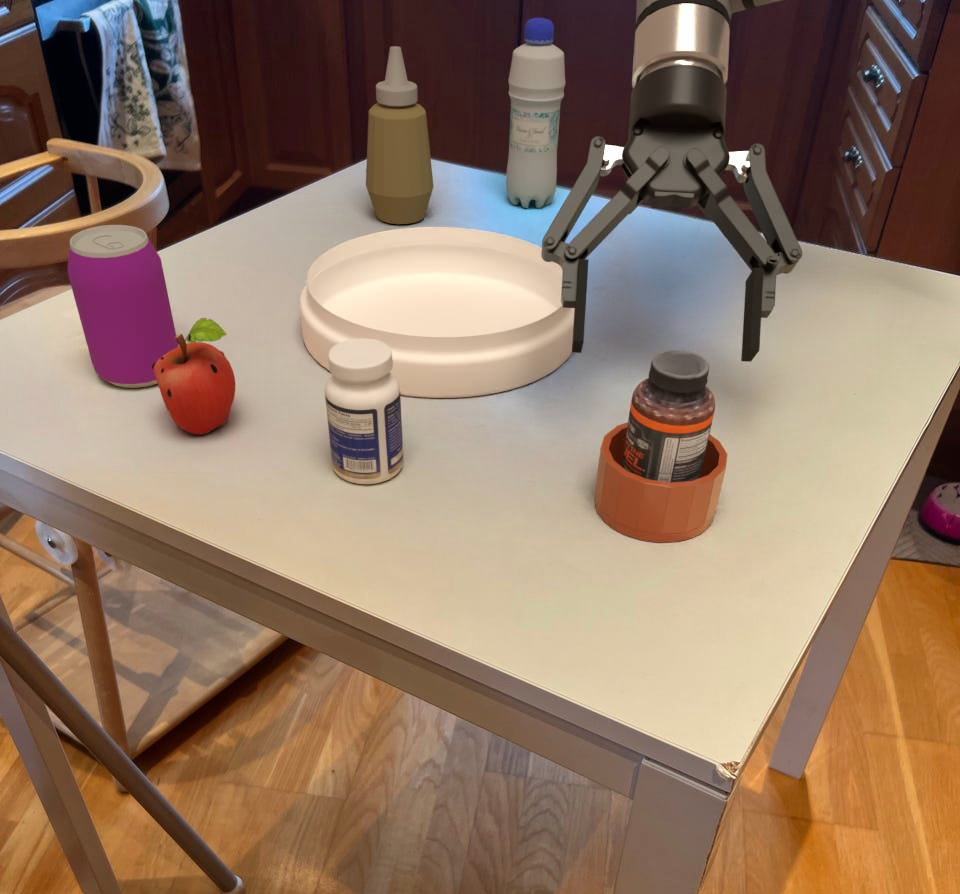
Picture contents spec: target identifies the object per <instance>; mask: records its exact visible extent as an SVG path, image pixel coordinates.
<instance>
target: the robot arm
mask: <svg viewBox="0 0 960 894" xmlns="http://www.w3.org/2000/svg"><path fill="white" fill-rule="evenodd" d="M781 1H783V0H636V11H635V12H636V13H635V28H634V43H633V44H634V45H633V57H632V58H633V60H632V74H631V75H632V76H631V86H632V90H631V93H630V102H629V103H630V105H629V121H628V122H629V123H628V139H627V142H626V143H625V145H624V146H618V145H612V144H607V142H606V140H605V138H604V137H603V136H600V135H599V136H598V135H596V136H594V137H593V138H592V139H591V140H590V144H589V148H588V154H587V161H586V164H585V165H584V167H583V169H582V171H581V172H580V174H579V175H578V178H577V179H576V181H575V183H574V184H573V186H572V188H571V189H570V191H569V193H568V194H567V196H566V198H565V200H564V201H563V203H562V205H561V207H560V208H559V210H558V211H557V213H556V215H555V217H554V219H553V221H552V222H551V224H550V226H549V227H548V229H547V231H546V232H545V234H544V236H543V237H542V241H541V248H542V252H541V256H542V259H543V260H544V261H546V262H551V261H552V262H555V263H557V264H559V265H560V266H561V268H562V272H563V273H562V290H561V303H562V306H563V308H574V325H573V341H572V353H574V354H582V351H583V347H584V341H585V326H586V308H587V307H586V305H587V291H588V274H589V259H588V257H589V256H590V255H591V253H593V252H594V251H595V249H597V248H598V246H600V244H602V242H603V241H604V240H605V239H606V238H607V237H608V236H609V235H610V234H611V233H612V232H613V231H614V230H615V229H616V228H617V227H618V226H619V225H620V223H621V222H623V220H624V219H625V218H626V217H628V215H631V214H633V212H634V211H635V210H637V208H638V207H639V206H640V205H641V204H642V203H643V202H644V203H645V204H647V205H649V206H650V209H658V210H661V209H666V208H669V207H670V208H674V209H676V210H681V211H682V210H683V211H690V210H691V208H694V207H695V206H697V207H698V209H699V210H700V211H701V212H702V214H703V215H704V216H705V217H706V218H707V219H710V220H711V221H712V223H714V224H715V226H716V227H717V229H718V230H719V231H720V232H721V234H722V235H723V236H724V238H725V239H726V240H727V241H728V242H729V244H730V246H731V247H732V248H733V250H735V252H736V253H737V254H738V255H739V257H740V258H741V259H742V260H743V262H744V263H745V264H746V266H747V267H748V268H749V270H750V271H751V272H750V273H749V274H748V277H747V278H746V280H745V287H744V288H745V289H744V290H745V291H744V302H743V303H744V305H743V324H742V325H743V326H742V342H741V358H740V359H741V362H747V363H748V362H749V363H750V362H752V361H753V359H754V358H755V357H756V356H757V355H758V353H759V352H760V347H761V345H760V344H761V330H762V329H761V327H762V319H768V318H769V316H770V315H771V313H772V311H773V310H774V308H775V305H776V304H775V303H776V288H777V276H778V275H780V274H784V275H785V274H790V273H792V271H793V270H794V268H795V267H796V266H797V264H798V263H799V262H800V260H801V258H802V257H803V250H802V248H801V246H800V243H799V242H798V239H797V237H796V235H795V232H794V230H793V228H792V225H791V223H790V221H789V219H788V216H787V214H786V212H785V210H784V208H783V206H782V203H781V201H780V198H779V197H778V194H777V192H776V189H775V188H774V185H773V183H772V181H771V178H770V176H769V173H768V171H767V163H766V149H765V146H764V145H763V144H762V143H757V142H756V143H753V144H752V145H750V148H749V149H748V150H741V151H729V149H728V147H727V145H726V142H725V132H726V131H725V129H726V114H727V113H726V110H727V93H728V90H727V86H726V84H727V83H728V76H729V59H730V57H729V56H730V55H729V54H730V35H731V24H732V23H731V19H732V14H735V13H738V12H739V13H740V12H742V11H746V10H752V9H757V8H759V7H760V6H764V5H768V4H773V3H777V2H781ZM616 166H620V167H621V170H622V171H623V173H624V175H625V177H626V178H627V179H626V181H625V182H624V184H623V185H622V187H621V188H620V189H619V190H618V192H617V193H616V194H615V195H614V196H612V198H611V199H610V200H609V201H608V202H607V203H606V204H605V205H604V206H603V207H602V208H601V209H600V211H599V212H597V214H596V215H595V216H594V217H593V218H592V219H591V220H590V221H589V222H588V223H587V224H586V225H585V226H584V227H583V228H582V229H581V230H580V231H579V232H578V233H577V234H576V236H575V237H574V238H572V240H570V241H569V243H567V242H566V241H567V239H568V237H569V236H570V234H571V232H572V230H573V229H574V228H575V225H576V223H577V222H578V220H579V219H580V217H581V215H582V213H583V212H584V210H585V208H586V206H587V204H588V203H589V201H590V199H591V198H592V196H593V195H594V193H595V190H596V189H597V186H598V185H599V182H600V178H601V177H606V176H608V175H610V174H611V172H612V170H613V168H614V167H616ZM727 171H730V172H732V173H733V175H734V177H735V179H736V181H737V183H739V184H743V190H744V194H745V196H746V199H747V201H748V203H749V205H750V208H751V210H752V212H753V214H754V217H755V219H756V221H757V224H758V226H759V228H760V230H761V232H762V235H763V236H762V235H761V233H760V232H759V231H758V230H757V228H756V226H755V225H753V223H752V221H751V220H750V219H749V218H748V217H747V215H746V214H745V213H744V212H743V210H742V209H741V208H740V206H739V205H738V204H737V203H736V201H735V200H734V198H733V197H732V196H731V195H730V191H729V188H728V186H727V185H726V184H725V182H724V180H722V177H723V176H724V175H725V173H726V172H727ZM572 353H571V354H572Z"/></svg>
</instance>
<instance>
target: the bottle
mask: <svg viewBox="0 0 960 894" xmlns="http://www.w3.org/2000/svg"><path fill="white" fill-rule="evenodd" d="M523 33H524V34H523V39H524V40H523V41H524V42H525V43H522V44H521V45H520V46H517V47H516V48H515V49H514V50H513V51H512V56H511V63H510V69H509V75H508V76H509V77H508V81H507V82H508V86H509V87H508V89H509V90H508V95H509V98H510V114H509V115H510V117H509V140H508V158H507V164H506V165H507V166H506V173H505V174H506V176H505V187H506V193H507V197H508V199H509V202H510V203H511V204H512V205H514V206H517V205H519V203H520V204H521V206H522V208H524V209H528V208H529V206H530V202H531V201H535V207H536V208H537V209H540V208H542V207H543V206H544V205H546V206H547V205H549V204H551V202H552V201H553V200H554V197H555V194H556V188H557V175H558V165H557V164H558V157H557V156H558V145H559V129H560V118H561V117H560V116H561V115H560V114H561V104H562V103H561V102H562V100H563V99H564V97H565V91H564V90H565V87H566V84H567V83H566V71H565V70H566V67H565V65H566V64H565V53H564V51H563V50H562V49H561V48H559V47H558V46H556V45H555V44H553V42H554V39H555V38H554V37H555V36H554V35H555V26H554V23H553V21H552V20H550V19H548V18H545V17H533V18H530V19H528V20H527V21H526V22H525V24H524V32H523Z"/></svg>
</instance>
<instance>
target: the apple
mask: <svg viewBox="0 0 960 894" xmlns="http://www.w3.org/2000/svg"><path fill="white" fill-rule="evenodd" d="M225 336H227V332H226V331H225V330H224V329H223V328H222V327H221V326H220V324H219V323H217V322H216V321H215V320H213V319H212V318H207V317H201V318H199V319H198V320H196V321H195V323H194V324H193V325H192V327H191V329H190V331H189V333H188V334H187V336H186V337H184V335H183V334H182V333H180V334H177V335H176V337H175V339H176V341H177V343H178V347H177V348H175V349H173V350H171V351H170V352H168V353H166V354H165V355H163V356H162V357H161V358H160V359H159V360H158V361H157V362H156V363H154V364H153V365H152V369H153V370H154V374H155V378H156V381H157V384H156V385H157V386H158V389H159V391H160V395H161V398H162V400H163V404H164V405H165V408H166V409H167V412H168V414H169V415H170V417H171V419H172V420H173V421H174V423H175V424H176V425H177V426H178V427H179V428H181V429H182V430H184V431H186V432H187V433H189V434H191V435H197V436H198V435H199V436H201V435H206V434H208V433H210V432H211V431H213V430H215V429H217V428H219V427H221V426H223V425H224V424H225V423H226V422H227V420H228V418H229V416H230V412H231V409H232V407H233V403H234V400H235V395H236V377H235V373H234V370H233V367H232V365H231V363H230V361H229V360H228V358H227V357H226V355H225V353H224V352H223V351H222V350H220V349H219V348H218V347H216V346H214V345H212V344H210V343H207V342H216V341H219V340H221V339H222V337H225ZM187 342H188V343H187Z"/></svg>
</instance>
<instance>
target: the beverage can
mask: <svg viewBox="0 0 960 894" xmlns="http://www.w3.org/2000/svg"><path fill="white" fill-rule="evenodd" d="M67 259H68V260H67V261H68V262H67V276H68V280H69V283H70V286H71V290H72V294H73V298H74V302H75V305H76V308H77V312H78V317H79V320H80V324H81V327H82V331H83V335H84V339H85V342H86V346H87V349H88V353H89V356H90V360H91V364H92V366H93V370H94V372H95V374H97V376H98V377H99V378H100V379H102V380H105V381H106V382H108V383H109V384H111V385H114V386H115V387H120V388H125V389H140V388H141V389H142V388H148V387H151V386H154V385H155V386H156V385H158V384H157V381H156V378H155V374H154V370H153V369H152V365H153V364H154V363H156V362H157V361H158V360H159V359H160V358H161V357H162V356H163V355H165V354H166V353H168V352H170V351H171V350H173V349H175V348H177V347H179V344H178V343H177V341H176V339H175V337H177V332H176V327H175V323H174V317H173V312H172V308H171V302H170V298H169V293H168V288H167V283H166V278H165V273H164V269H163V263H162V259H161V257H160V255H159V253H158V251H157V250H156V249H155V247H154V245H153V243H152V242H151V240H150V238H149V236H148V234H147V232H146V231H144V229H142V228H139V227H136V226H132V225H126V224H105V225H99V226H94V227H89V228H85V229H83V230H81V231H79V232H77V233H75V234H73V235H72V237H70V239H69V250H68V258H67Z"/></svg>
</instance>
